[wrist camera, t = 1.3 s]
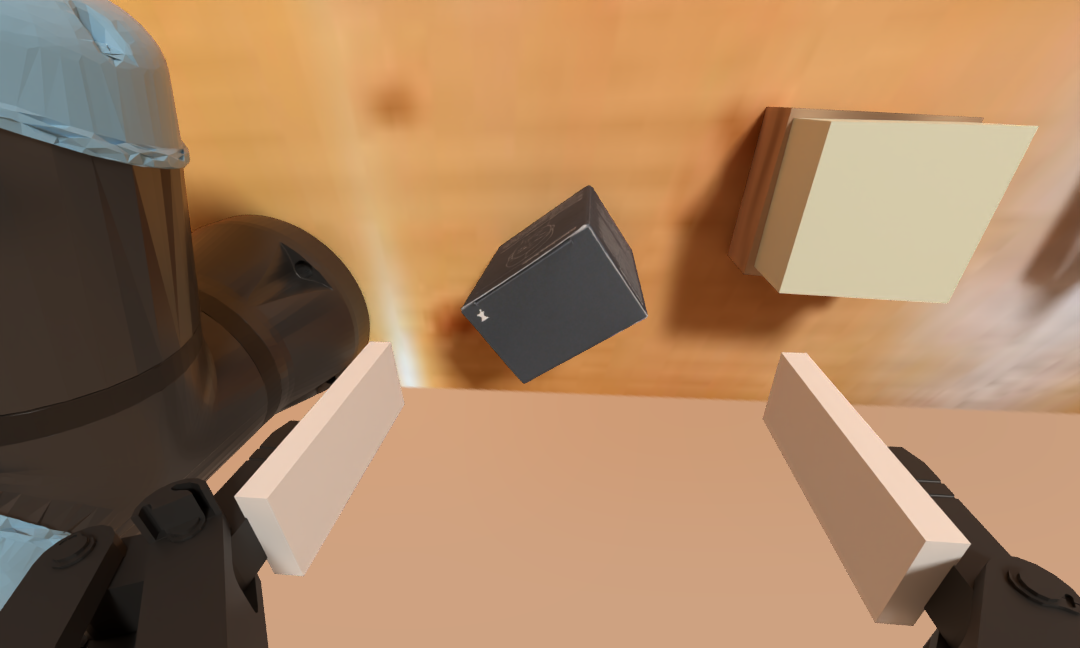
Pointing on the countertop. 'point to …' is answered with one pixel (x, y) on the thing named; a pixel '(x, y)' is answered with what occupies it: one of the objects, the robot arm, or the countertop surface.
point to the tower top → (885, 205)
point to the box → (557, 288)
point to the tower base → (769, 166)
